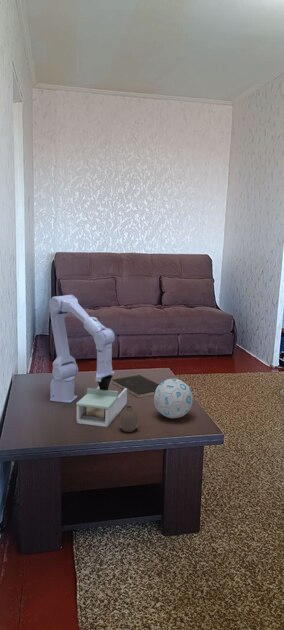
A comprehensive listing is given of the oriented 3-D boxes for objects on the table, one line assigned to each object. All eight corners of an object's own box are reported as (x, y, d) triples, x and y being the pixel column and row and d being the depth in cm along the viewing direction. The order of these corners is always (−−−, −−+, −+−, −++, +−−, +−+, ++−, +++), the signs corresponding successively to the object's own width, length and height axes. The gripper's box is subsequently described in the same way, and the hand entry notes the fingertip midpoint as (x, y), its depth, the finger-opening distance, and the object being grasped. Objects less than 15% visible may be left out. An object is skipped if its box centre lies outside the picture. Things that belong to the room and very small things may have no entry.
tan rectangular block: (86, 417, 176) (86, 404, 175) (90, 413, 180) (90, 401, 179) (103, 419, 174) (104, 406, 173) (107, 415, 178) (107, 403, 177)
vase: (131, 435, 163) (131, 411, 162) (115, 430, 167) (115, 407, 165) (141, 428, 169) (142, 405, 168) (125, 424, 173) (126, 401, 171)
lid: (76, 405, 172) (76, 398, 171) (87, 394, 183) (87, 388, 183) (108, 409, 169) (108, 401, 168) (118, 398, 180) (118, 391, 180)
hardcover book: (137, 399, 201) (137, 394, 201) (112, 384, 220) (112, 379, 220) (167, 393, 210) (168, 388, 209) (140, 379, 229) (140, 374, 228)
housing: (76, 423, 173) (76, 406, 172) (99, 400, 197) (99, 385, 196) (107, 427, 170) (107, 410, 169) (126, 403, 194) (127, 388, 193)
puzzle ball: (158, 425, 172) (159, 386, 170) (149, 410, 187) (150, 374, 184) (197, 423, 175) (199, 385, 173) (185, 408, 190) (187, 373, 187)
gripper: (108, 366, 173) (107, 401, 175) (119, 356, 187) (119, 389, 189) (90, 364, 174) (90, 399, 177) (102, 355, 188) (102, 387, 191)
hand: (104, 393), depth 183 cm, fingers closed
